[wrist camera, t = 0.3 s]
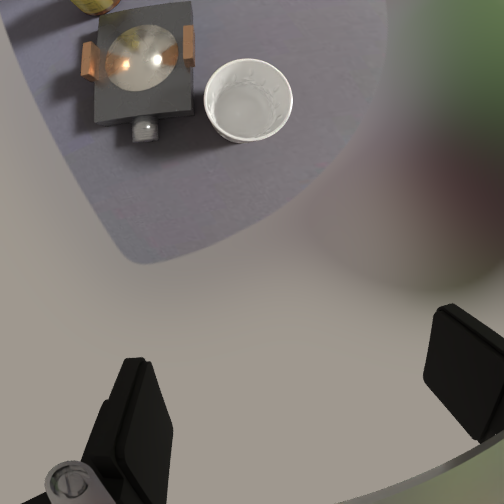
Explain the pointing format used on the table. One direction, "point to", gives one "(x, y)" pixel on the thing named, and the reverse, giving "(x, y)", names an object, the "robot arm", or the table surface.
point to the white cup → (247, 100)
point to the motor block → (142, 67)
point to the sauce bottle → (95, 6)
